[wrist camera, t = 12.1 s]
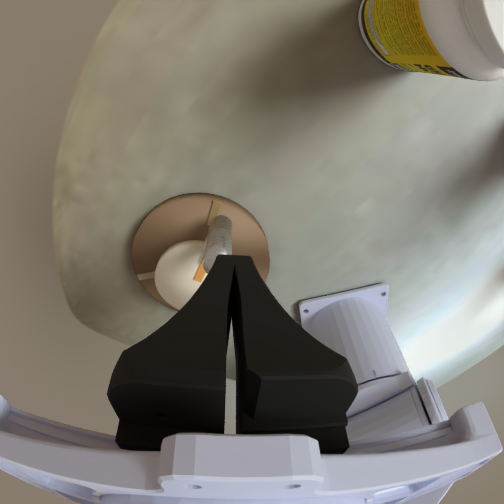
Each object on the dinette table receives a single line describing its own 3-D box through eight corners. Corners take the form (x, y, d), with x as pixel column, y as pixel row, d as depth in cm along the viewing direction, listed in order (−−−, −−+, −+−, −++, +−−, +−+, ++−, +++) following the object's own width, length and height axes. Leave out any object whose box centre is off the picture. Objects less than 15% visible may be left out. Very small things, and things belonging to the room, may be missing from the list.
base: (278, 294, 25) (281, 312, 24) (163, 313, 26) (159, 331, 24) (253, 178, 20) (254, 190, 18) (116, 212, 21) (105, 226, 19)
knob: (219, 315, 23) (217, 360, 19) (148, 290, 22) (134, 334, 18) (267, 233, 19) (274, 274, 16) (182, 198, 18) (168, 234, 14)
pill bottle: (379, 82, 17) (498, 109, 7) (338, -2, 14) (435, -55, 4) (447, 59, 15) (569, 82, 6) (413, -18, 12) (527, -46, 3)
